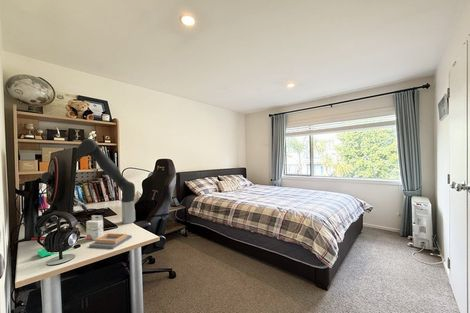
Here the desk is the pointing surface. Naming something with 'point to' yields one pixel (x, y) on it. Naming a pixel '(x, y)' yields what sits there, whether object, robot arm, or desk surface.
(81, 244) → the desk surface
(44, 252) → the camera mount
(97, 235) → the ink cartridge box
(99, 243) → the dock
